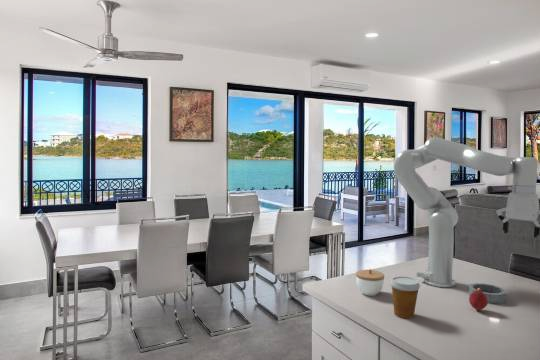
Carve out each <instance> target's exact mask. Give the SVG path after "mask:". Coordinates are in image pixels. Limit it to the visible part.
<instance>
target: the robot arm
mask: <svg viewBox="0 0 540 360" xmlns="http://www.w3.org/2000/svg"><path fill="white" fill-rule="evenodd" d="M437 160H441V161H444V162H448V163H451V164H454V165H458V166H461V167H463V168H464V167H465V168H468V169H472V170H475V171H479V172H482V173H485V174H489V175H492V176H497V177H505V176H509V175H512V184H511V185H508V186H507V190H510V191H511V192H509V193H508V197H507V201H506V207H503V208H500V209H499V208H498V209H497V210H496V211H495V212H496V214H497V216H498V219H500V220H501V222H502V231H503V233H504V234H508V233H509V228H510V226H509V223H510V222H509V221H510V220H514V221H515V220H516V221H523V222H532V223H533V224H534V225H535V226H534V228H533V229H534V231H533V238H537V237H538V236H540V221H539V216H540V209H539V208H540V205H539V204H540V203H539V196H538V195H539V194H536V193H537V180H538V169H539V168H538V167H539V161H538V159H537V158H535V157H532V156H531V157H529V156H525V157H524V156H523V157H522V156H521V157H520V156H519V157H513V156H507V155H506V156H504V155H498V154H494V153H491V152H486V151H484V150H483V151H482V150H479V149H477V148H474V147H473V146H472V145H471V146H470V145H468V144H463V143H459V142H455V141H451V140H449V139H448V140H447V139H445V138H441V137H431V138H428V139H427V140H426V141H425V143H424V144H423V145H420V146H418V147H416V148H414V149H405V150H403V151H400V152H399V154H397V156H396V158H395V159H394V163H393V172H394V175H395V177H396V179H397V181H398V183H399V184H400V185H401V187H403V188H404V191H405V192H406V193H407V195H408V196H409V197H410V198H411V200H412V201H413V202H414V203H415V205H416V206H417V207H418V208H419V209H421V210H422V211H428V213H429V214H430V215H429V217H428V257H427V258H428V262H427V269H425V271H423V272H422V271H421V272H420V271H416V272H415V276H416V277H418V278H420V279H423V281H424V283H425V284H427V285H429V286H433V287H439V288H453V287H456V285H457V282H456V280H455V279H453V267H454V265H453V264H454V243H455V241H454V238H455V237H454V227H455V226H456V225H457V223H458V222H459V215H458V212H457V211H456V209H455V207H453V205H452V204H451V203H450V201H448V199H447V198H446V197H445V196H444V194H443V193H442V192H441V191H440V190H439V189H437V188H435V187H432V186H429V185H428V184H427V183H426V182H425V181H424V179H423V178H422V176H421V175H420V174H419V173H418V172H417V171H416V170H415V169H420V168H421V167H424V166H425V165H427V164H430V163H432V162H435V161H437ZM503 212H505V216H504V215H503Z"/></svg>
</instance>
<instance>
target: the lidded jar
mask: <svg viewBox="0 0 540 360" xmlns="http://www.w3.org/2000/svg"><path fill="white" fill-rule="evenodd" d="M355 277H356V278H355V279H356V280H355V281H356V282H355V283H356V287H357V288H358V290H359V291H360V292H361V294H363V295H365V296H369V297H370V296H371V297H373V296H374V297H375V296H378V294H379V293H380V292H381V291H382V289H383V287H384V284H385V274H384V273H383V272H382V271H378V270H374V269H370V268H369V269H362V270H361V269H360V270H357V271H356V272H355Z"/></svg>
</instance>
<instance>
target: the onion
mask: <svg viewBox="0 0 540 360" xmlns="http://www.w3.org/2000/svg"><path fill="white" fill-rule="evenodd" d="M468 301H469V304H470V306H471V307H472V308H473V309H475V310H476V311H481V310H483V309H485V308H486V307H487V306H488V304H489V303H488V299H487V297H486V295H485V294H484V293H483V292H482V291H481V289H480V288H478V289H477V290H476V291H474V292H472V293H471V295H470V296H469V298H468Z"/></svg>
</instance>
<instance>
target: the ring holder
mask: <svg viewBox="0 0 540 360" xmlns="http://www.w3.org/2000/svg"><path fill="white" fill-rule="evenodd" d="M478 288H480V289H481V291H482V292H483V293H484V294H485V295H486V297H487V299H488V303H487V304H493V305H497V304H498V305H499V304H503V303H505V301H506V292H507V291H506V290H505V289H503V288H502V287H500V286H497V285H495V284H494V285H493V284H489V283H478V282H476V283H475V282H474V283H472V284H470V285H469V287H468V296H469V297H470V295H471V293H472V292H474V291H476V290H477V289H478Z"/></svg>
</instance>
